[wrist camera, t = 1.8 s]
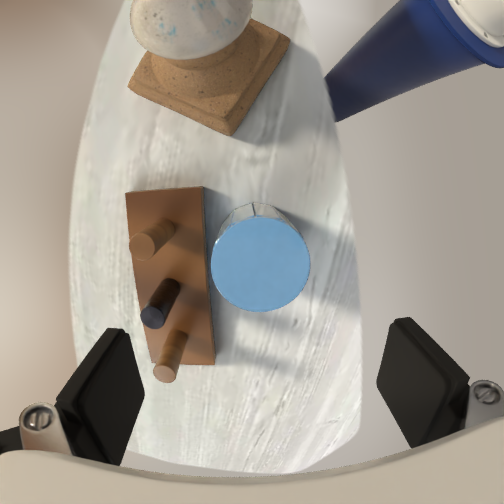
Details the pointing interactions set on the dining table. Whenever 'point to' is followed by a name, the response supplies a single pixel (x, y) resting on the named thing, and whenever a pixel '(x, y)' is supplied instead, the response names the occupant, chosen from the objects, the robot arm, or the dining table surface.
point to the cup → (259, 259)
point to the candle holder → (204, 58)
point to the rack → (172, 276)
